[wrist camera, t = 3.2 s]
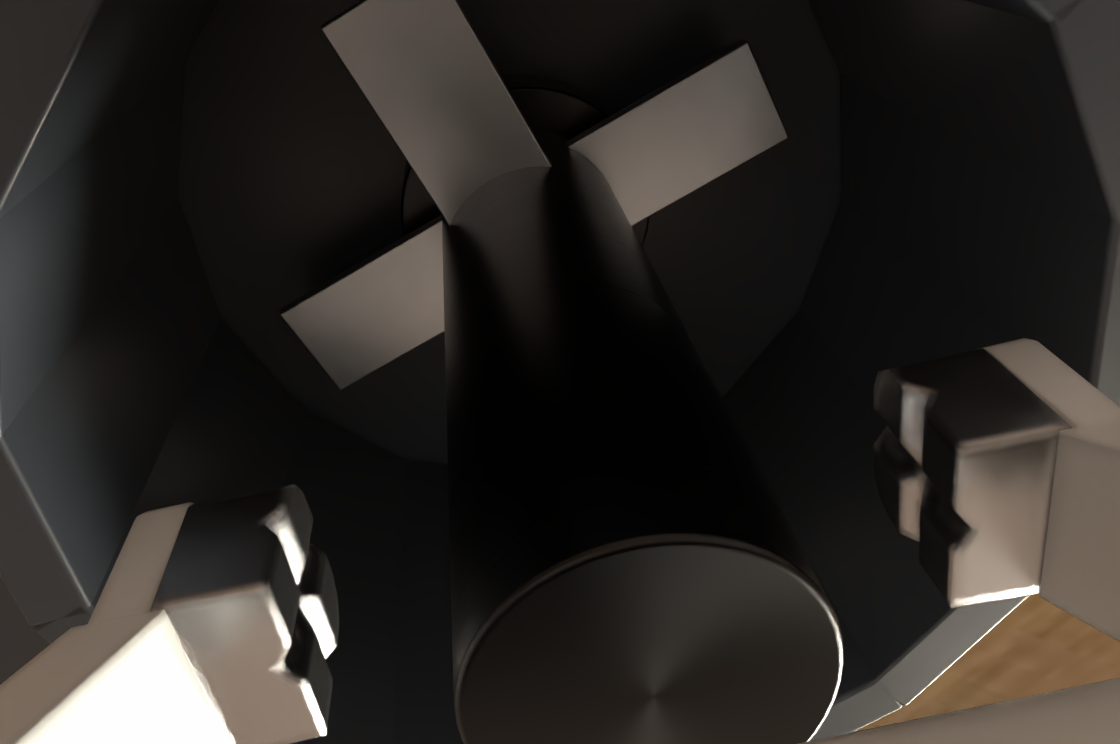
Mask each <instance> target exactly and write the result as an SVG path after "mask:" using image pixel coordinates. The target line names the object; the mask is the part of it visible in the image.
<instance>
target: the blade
mask: <svg viewBox="0 0 1120 744" xmlns="http://www.w3.org/2000/svg"><path fill="white" fill-rule="evenodd" d="M321 31H322V33H323V34H324V36H325V37H326V39H327V40H328V42H329V43H330V45H331V46H332V48H333V49H334V51H335V52H336V54H337V56H338V57H339V59H340V60H341V62H342V63H343V65H344V66H345V68H346V69H347V71H348V72H349V74H350V75H351V77H352V78H353V80H354V81H355V83H356V84H357V86H358V88H359V89H360V91H361V92H362V94H363V95H364V97H365V98H366V100H367V101H368V103H369V104H370V106H371V107H372V109H373V110H374V112H375V113H376V115H377V116H378V118H379V119H380V121H381V123H382V124H383V126H384V127H385V129H386V130H387V132H388V133H389V135H390V136H391V138H392V139H393V141H394V142H395V144H396V145H397V147H398V148H399V150H400V151H401V153H402V155H403V156H404V158H405V159H406V161H407V163H406V167H405V171H404V178H403V185H402V196H401V220H402V228H403V234H404V237H402V238H400V239H399V240H397V241H395V242H394V243H392V244H390V245H388V246H387V247H385V248H383V249H382V250H380V251H378V252H376V253H375V254H373V255H371V256H370V257H368V258H366V259H364V260H363V261H361V262H359V263H358V264H356V265H354V266H352V267H351V268H349V269H347V270H346V271H344V272H342V273H340V274H339V275H337V276H335V277H334V278H332V279H330V280H328V281H327V282H325V283H323V284H322V285H320V286H318V287H316V288H315V289H313V290H311V291H310V292H308V293H306V294H304V295H303V296H301V297H299V298H298V299H296V300H294V301H292V302H291V303H289V304H287V305H286V306H284V307H282V309H281V312H280V316H281V317H282V318H283V320H284V321H285V322H286V323H287V325H288V326H289V327H290V328H291V330H292V331H293V332H294V333H295V335H296V336H297V337H298V338H299V340H300V341H301V342H302V343H303V345H304V346H305V347H306V348H307V350H308V351H309V352H310V353H311V355H312V356H313V357H314V358H315V360H316V361H317V362H318V363H319V365H320V366H321V367H322V368H323V370H324V371H325V372H326V373H327V375H328V376H329V377H330V378H331V380H332V381H333V382H334V383H335V385H336V386H337V387H338V388H339V389H340V390H342V389H344V388H346V387H347V386H349V385H351V384H353V383H354V382H356V381H358V380H360V379H362V378H363V377H365V376H367V375H369V374H370V373H372V372H374V371H376V370H378V369H379V368H381V367H383V366H385V365H386V364H388V363H390V362H392V361H394V360H395V359H397V358H399V357H401V356H402V355H404V354H406V353H408V352H410V351H411V350H413V349H415V348H417V347H418V346H420V345H422V344H424V343H426V342H427V341H429V340H431V339H433V338H434V337H436V336H438V335H440V334H442V333H443V332H445V371H446V412H447V453H448V493H449V534H450V574H451V615H452V656H453V696H454V711H455V718H456V724H457V727H458V730H459V733H460V736H461V739H462V742H463V743H464V744H799V743H804V742H808V741H810V740H811V739H812V737H813V736H814V735H815V734H816V733H817V731H818V730H819V728H820V726H821V725H822V723H823V722H824V720H825V719H826V717H827V715H828V713H829V711H830V709H831V707H832V705H833V703H834V701H835V698H836V695H837V692H838V688H839V685H840V682H841V676H842V668H843V638H842V634H841V629H840V625H839V621H838V618H837V616H836V614H835V612H834V609H833V607H832V605H831V603H830V601H829V599H828V597H827V595H826V593H825V591H824V589H823V588H822V586H821V584H820V582H819V580H818V578H817V576H816V574H815V572H814V571H813V569H812V567H811V565H810V563H809V561H808V559H807V557H806V555H805V554H804V552H803V550H802V548H801V546H800V544H799V542H798V540H797V538H796V537H795V535H794V533H793V531H792V529H791V527H790V525H789V523H788V521H787V519H786V518H785V516H784V514H783V512H782V510H781V508H780V506H779V504H778V502H777V501H776V499H775V497H774V495H773V493H772V491H771V489H770V487H769V485H768V484H767V482H766V480H765V478H764V476H763V474H762V472H761V470H760V468H759V467H758V465H757V463H756V461H755V459H754V457H753V455H752V453H751V451H750V450H749V448H748V446H747V444H746V442H745V440H744V438H743V436H742V434H741V433H740V431H739V429H738V427H737V425H736V423H735V421H734V419H733V417H732V416H731V414H730V412H729V410H728V408H727V406H726V404H725V402H724V400H723V399H722V397H721V395H720V393H719V391H718V389H717V387H716V385H715V383H714V381H713V380H712V378H711V376H710V374H709V372H708V370H707V368H706V366H705V364H704V363H703V361H702V359H701V357H700V355H699V353H698V351H697V349H696V347H695V346H694V344H693V342H692V340H691V338H690V336H689V334H688V332H687V330H686V329H685V327H684V325H683V323H682V321H681V319H680V317H679V315H678V313H677V312H676V310H675V308H674V306H673V304H672V302H671V300H670V298H669V296H668V295H667V293H666V291H665V289H664V287H663V285H662V283H661V281H660V279H659V278H658V276H657V274H656V272H655V270H654V268H653V266H652V264H651V262H650V260H649V259H648V257H647V255H646V253H645V251H644V249H643V247H642V246H643V244H644V241H645V237H646V234H647V230H648V226H649V218H650V216H651V215H653V214H655V213H657V212H658V211H660V210H662V209H664V208H666V207H667V206H669V205H671V204H673V203H674V202H676V201H678V200H680V199H682V198H683V197H685V196H687V195H689V194H690V193H692V192H694V191H696V190H698V189H699V188H701V187H703V186H705V185H706V184H708V183H710V182H712V181H714V180H715V179H717V178H719V177H721V176H722V175H724V174H726V173H728V172H730V171H731V170H733V169H735V168H737V167H738V166H740V165H742V164H744V163H746V162H747V161H749V160H751V159H753V158H754V157H756V156H758V155H760V154H762V153H763V152H765V151H767V150H769V149H770V148H772V147H774V146H776V145H778V144H779V143H781V142H783V141H785V140H786V139H788V138H789V135H788V132H787V130H786V128H785V125H784V123H783V121H782V119H781V116H780V114H779V112H778V109H777V107H776V105H775V102H774V100H773V98H772V95H771V93H770V91H769V88H768V86H767V84H766V81H765V79H764V77H763V74H762V72H761V70H760V67H759V65H758V63H757V61H756V58H755V56H754V54H753V51H752V49H751V47H750V44H749V42H747V41H746V40H744V39H742V40H740V41H738V42H736V43H735V44H733V45H731V46H730V47H728V48H726V49H724V50H723V51H721V52H719V53H718V54H716V55H714V56H712V57H711V58H709V59H707V60H706V61H704V62H702V63H700V64H699V65H697V66H695V67H694V68H692V69H690V70H688V71H687V72H685V73H683V74H682V75H680V76H678V77H676V78H675V79H673V80H671V81H670V82H668V83H666V84H664V85H663V86H661V87H659V88H658V89H656V90H654V91H652V92H651V93H649V94H647V95H646V96H644V97H642V98H640V99H639V100H637V101H635V102H634V103H632V104H630V105H628V106H627V107H625V108H623V109H622V110H620V111H618V112H616V113H615V114H612V113H611V112H610V111H609V110H608V109H607V108H606V107H605V106H604V105H602V104H601V103H600V102H599V101H598V100H596V99H595V98H594V97H592V96H591V95H589V94H588V93H586V92H585V91H583V90H581V89H579V88H577V87H575V86H573V85H571V84H568V83H565V82H562V81H559V80H556V79H551V78H546V77H541V76H528V75H519V76H506V77H502V76H501V74H500V73H499V71H498V69H497V67H496V66H495V64H494V62H493V60H492V59H491V57H490V55H489V53H488V52H487V50H486V48H485V47H484V45H483V43H482V41H481V40H480V38H479V36H478V34H477V33H476V31H475V29H474V27H473V26H472V24H471V22H470V20H469V19H468V17H467V15H466V13H465V12H464V10H463V8H462V6H461V5H460V3H459V1H458V0H360V1H359V2H357V3H356V4H354V5H352V6H351V7H349V8H348V9H346V10H345V11H343V12H341V13H340V14H338V15H337V16H335V17H333V18H332V19H330V20H329V21H327V22H325V23H324V24H323V25H322V27H321Z"/></svg>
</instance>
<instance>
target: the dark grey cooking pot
mask: <svg viewBox="0 0 1120 744" xmlns="http://www.w3.org/2000/svg"><path fill="white" fill-rule="evenodd" d="M359 1H360V0H0V577H1V579H2V581H3V582H4V584H5V586H6V587H7V589H8V591H9V593H10V594H11V596H12V598H13V600H14V601H15V603H16V605H17V606H18V608H19V610H20V612H21V613H22V615H23V617H24V619H25V620H26V622H27V624H29V625H30V626H33V629H34V631H35V632H36V633H37V634H38V635H39V636H41V637H42V638H43V639H45V640H46V641H47V642H48V643H50V644H51V643H53V642H54V641H55V640H56V639H58V638H59V637H60V636H61V635H63V634H64V633H65V632H66V631H68V630H69V629H70V628H72V627H77V626H82V625H87V624H88V622H89V620H90V617H91V615H92V613H93V611H94V609H95V606H96V604H97V602H98V600H99V598H100V595H101V593H102V591H103V589H104V586H105V584H106V582H107V580H108V578H109V575H110V573H111V571H112V569H113V567H114V564H115V562H116V560H117V558H118V556H119V553H120V551H121V549H122V547H123V545H124V542H125V540H126V538H127V536H128V533H129V531H130V529H131V527H132V525H133V522H134V520H135V519H136V517H137V516H139V515H141V514H142V513H144V512H146V511H150V510H155V509H160V508H165V507H169V506H174V505H179V504H184V503H189V502H191V503H196V502H197V501H202V500H208V499H214V498H219V497H225V496H231V495H236V494H242V493H248V492H253V491H259V490H265V489H271V488H276V487H282V486H288V485H293V484H295V485H296V486H297V487H298V488H299V489H301V490H302V491H303V493H304V496H305V498H306V501H307V503H308V506H309V509H310V511H311V514H312V516H313V524H312V530H311V536H310V542H309V543H311V544H312V545H314V546H315V547H317V548H318V549H320V550H321V551H323V552H324V553H326V555H327V558H328V561H329V564H330V567H331V570H332V573H333V578H334V582H335V586H336V591H337V596H338V610H339V634H338V644H337V647H336V648H335V649H334V650H333V651H332V652H331V653H330V655H329V656H328V657H327V658H326V662H327V665H328V668H329V670H330V673H331V676H332V678H333V686H332V693H331V701H330V709H329V717H328V725H327V733H326V735H324V736H320V737H316V738H311V739H307V740H303V741H299V742H294V743H290V744H464V743H463V742H462V739H461V736H460V733H459V730H458V727H457V724H456V718H455V711H454V696H453V656H452V615H451V574H450V534H449V493H448V453H447V412H446V371H445V332H443V333H442V334H440V335H438V336H436V337H434V338H433V339H431V340H429V341H427V342H426V343H424V344H422V345H420V346H418V347H417V348H415V349H413V350H411V351H410V352H408V353H406V354H404V355H402V356H401V357H399V358H397V359H395V360H394V361H392V362H390V363H388V364H386V365H385V366H383V367H381V368H379V369H378V370H376V371H374V372H372V373H370V374H369V375H367V376H365V377H363V378H362V379H360V380H358V381H356V382H354V383H353V384H351V385H349V386H347V387H346V388H344V389H342V390H340V389H339V388H338V387H337V386H336V385H335V383H334V382H333V381H332V380H331V378H330V377H329V376H328V375H327V373H326V372H325V371H324V370H323V368H322V367H321V366H320V365H319V363H318V362H317V361H316V360H315V358H314V357H313V356H312V355H311V353H310V352H309V351H308V350H307V348H306V347H305V346H304V345H303V343H302V342H301V341H300V340H299V338H298V337H297V336H296V335H295V333H294V332H293V331H292V330H291V328H290V327H289V326H288V325H287V323H286V322H285V321H284V320H283V318H282V317H281V316H280V312H281V309H282V307H284V306H286V305H287V304H289V303H291V302H292V301H294V300H296V299H298V298H299V297H301V296H303V295H304V294H306V293H308V292H310V291H311V290H313V289H315V288H316V287H318V286H320V285H322V284H323V283H325V282H327V281H328V280H330V279H332V278H334V277H335V276H337V275H339V274H340V273H342V272H344V271H346V270H347V269H349V268H351V267H352V266H354V265H356V264H358V263H359V262H361V261H363V260H364V259H366V258H368V257H370V256H371V255H373V254H375V253H376V252H378V251H380V250H382V249H383V248H385V247H387V246H388V245H390V244H392V243H394V242H395V241H397V240H399V239H400V238H402V237H404V234H403V228H402V220H401V196H402V185H403V178H404V171H405V167H406V163H407V161H406V159H405V158H404V156H403V155H402V153H401V151H400V150H399V148H398V147H397V145H396V144H395V142H394V141H393V139H392V138H391V136H390V135H389V133H388V132H387V130H386V129H385V127H384V126H383V124H382V123H381V121H380V119H379V118H378V116H377V115H376V113H375V112H374V110H373V109H372V107H371V106H370V104H369V103H368V101H367V100H366V98H365V97H364V95H363V94H362V92H361V91H360V89H359V88H358V86H357V84H356V83H355V81H354V80H353V78H352V77H351V75H350V74H349V72H348V71H347V69H346V68H345V66H344V65H343V63H342V62H341V60H340V59H339V57H338V56H337V54H336V52H335V51H334V49H333V48H332V46H331V45H330V43H329V42H328V40H327V39H326V37H325V36H324V34H323V33H322V31H321V27H322V25H323V24H324V23H325V22H327V21H329V20H330V19H332V18H333V17H335V16H337V15H338V14H340V13H341V12H343V11H345V10H346V9H348V8H349V7H351V6H352V5H354V4H356V3H357V2H359ZM458 1H459V3H460V5H461V6H462V8H463V10H464V12H465V13H466V15H467V17H468V19H469V20H470V22H471V24H472V26H473V27H474V29H475V31H476V33H477V34H478V36H479V38H480V40H481V41H482V43H483V45H484V47H485V48H486V50H487V52H488V53H489V55H490V57H491V59H492V60H493V62H494V64H495V66H496V67H497V69H498V71H499V73H500V74H501V76H502V77H506V76H519V75H528V76H541V77H546V78H551V79H556V80H559V81H562V82H565V83H568V84H571V85H573V86H575V87H577V88H579V89H581V90H583V91H585V92H586V93H588V94H589V95H591V96H592V97H594V98H595V99H596V100H598V101H599V102H600V103H601V104H602V105H604V106H605V107H606V108H607V109H608V110H609V111H610V112H611V113H612V114H615V113H616V112H618V111H620V110H622V109H623V108H625V107H627V106H628V105H630V104H632V103H634V102H635V101H637V100H639V99H640V98H642V97H644V96H646V95H647V94H649V93H651V92H652V91H654V90H656V89H658V88H659V87H661V86H663V85H664V84H666V83H668V82H670V81H671V80H673V79H675V78H676V77H678V76H680V75H682V74H683V73H685V72H687V71H688V70H690V69H692V68H694V67H695V66H697V65H699V64H700V63H702V62H704V61H706V60H707V59H709V58H711V57H712V56H714V55H716V54H718V53H719V52H721V51H723V50H724V49H726V48H728V47H730V46H731V45H733V44H735V43H736V42H738V41H740V40H742V39H744V40H746V41H747V42H749V44H750V47H751V49H752V51H753V54H754V56H755V58H756V61H757V63H758V65H759V67H760V70H761V72H762V74H763V77H764V79H765V81H766V84H767V86H768V88H769V91H770V93H771V95H772V98H773V100H774V102H775V105H776V107H777V109H778V112H779V114H780V116H781V119H782V121H783V123H784V125H785V128H786V130H787V132H788V135H789V138H788V139H786V140H785V141H783V142H781V143H779V144H778V145H776V146H774V147H772V148H770V149H769V150H767V151H765V152H763V153H762V154H760V155H758V156H756V157H754V158H753V159H751V160H749V161H747V162H746V163H744V164H742V165H740V166H738V167H737V168H735V169H733V170H731V171H730V172H728V173H726V174H724V175H722V176H721V177H719V178H717V179H715V180H714V181H712V182H710V183H708V184H706V185H705V186H703V187H701V188H699V189H698V190H696V191H694V192H692V193H690V194H689V195H687V196H685V197H683V198H682V199H680V200H678V201H676V202H674V203H673V204H671V205H669V206H667V207H666V208H664V209H662V210H660V211H658V212H657V213H655V214H653V215H651V216H650V218H649V226H648V230H647V234H646V237H645V241H644V244H643V246H642V247H643V249H644V251H645V253H646V255H647V257H648V259H649V260H650V262H651V264H652V266H653V268H654V270H655V272H656V274H657V276H658V278H659V279H660V281H661V283H662V285H663V287H664V289H665V291H666V293H667V295H668V296H669V298H670V300H671V302H672V304H673V306H674V308H675V310H676V312H677V313H678V315H679V317H680V319H681V321H682V323H683V325H684V327H685V329H686V330H687V332H688V334H689V336H690V338H691V340H692V342H693V344H694V346H695V347H696V349H697V351H698V353H699V355H700V357H701V359H702V361H703V363H704V364H705V366H706V368H707V370H708V372H709V374H710V376H711V378H712V380H713V381H714V383H715V385H716V387H717V389H718V391H719V393H720V395H721V397H722V399H723V400H724V402H725V404H726V406H727V408H728V410H729V412H730V414H731V416H732V417H733V419H734V421H735V423H736V425H737V427H738V429H739V431H740V433H741V434H742V436H743V438H744V440H745V442H746V444H747V446H748V448H749V450H750V451H751V453H752V455H753V457H754V459H755V461H756V463H757V465H758V467H759V468H760V470H761V472H762V474H763V476H764V478H765V480H766V482H767V484H768V485H769V487H770V489H771V491H772V493H773V495H774V497H775V499H776V501H777V502H778V504H779V506H780V508H781V510H782V512H783V514H784V516H785V518H786V519H787V521H788V523H789V525H790V527H791V529H792V531H793V533H794V535H795V537H796V538H797V540H798V542H799V544H800V546H801V548H802V550H803V552H804V554H805V555H806V557H807V559H808V561H809V563H810V565H811V567H812V569H813V571H814V572H815V574H816V576H817V578H818V580H819V582H820V584H821V586H822V588H823V589H824V591H825V593H826V595H827V597H828V599H829V601H830V603H831V605H832V607H833V609H834V612H835V614H836V616H837V618H838V621H839V625H840V629H841V634H842V638H843V668H842V676H841V682H840V685H839V688H838V692H837V695H836V698H835V701H834V703H833V705H832V707H831V709H830V711H829V713H828V715H827V717H826V719H825V720H824V722H823V723H822V725H821V726H820V728H819V730H818V731H817V733H816V734H815V735H814V736H813V737H812V739H811V740H810V741H813V740H818V739H823V738H828V737H832V736H837V735H842V734H847V733H852V732H854V731H856V730H858V729H860V728H862V727H864V726H866V725H868V724H870V723H872V722H874V721H876V720H878V719H880V718H882V717H884V716H886V715H889V714H891V713H893V712H895V711H897V710H899V709H900V708H901V707H902V705H903V706H906V705H908V704H909V703H910V702H911V701H912V700H913V699H914V698H915V697H917V696H918V695H919V694H920V693H921V692H922V691H923V690H924V689H925V688H927V687H928V686H929V685H930V684H931V683H932V682H933V681H934V680H936V679H937V678H938V677H939V676H940V675H941V674H942V673H943V672H944V671H946V670H947V669H948V668H949V667H950V666H951V665H952V664H953V663H954V662H956V661H957V660H958V659H959V658H960V657H961V656H962V655H963V654H964V653H966V652H967V651H968V650H969V649H970V648H971V647H972V646H973V645H975V644H976V643H977V642H978V641H979V640H980V639H981V638H982V637H983V636H985V635H986V634H987V633H988V632H989V631H990V630H991V629H992V628H993V627H995V626H996V625H997V624H998V623H999V622H1000V621H1001V620H1002V619H1004V618H1005V617H1006V616H1007V615H1008V614H1009V613H1010V612H1011V611H1012V610H1014V609H1015V608H1016V607H1017V606H1018V605H1019V604H1020V603H1021V602H1022V601H1024V600H1025V599H1026V598H1027V597H1028V596H1029V595H1030V594H1029V595H1023V596H1017V597H1012V598H1006V599H1000V600H994V601H989V602H983V603H977V604H972V605H966V606H960V607H955V608H950V606H949V605H948V603H947V602H946V600H945V599H944V597H943V596H942V595H941V593H940V592H939V590H938V589H937V587H936V586H935V585H934V583H933V582H932V580H931V579H930V577H929V576H928V575H927V573H926V572H925V570H924V569H923V567H922V566H921V564H920V563H919V542H918V541H916V540H914V539H911V538H909V537H907V536H905V535H903V534H900V533H899V532H898V531H897V529H896V528H895V526H894V525H893V523H892V522H891V520H890V518H889V517H888V515H887V513H886V510H885V508H884V506H883V504H882V501H881V499H880V496H879V491H878V487H877V483H876V478H875V474H874V450H873V445H874V443H875V442H876V440H877V439H878V438H879V436H880V435H881V433H882V432H883V430H884V429H885V428H886V426H887V425H886V423H885V422H884V421H883V420H882V418H881V417H880V416H879V414H878V413H877V412H876V410H875V409H874V384H875V381H876V377H877V373H878V371H883V370H887V369H892V368H896V367H901V366H905V365H910V364H914V363H919V362H923V361H928V360H932V359H937V358H941V357H946V356H950V355H955V354H959V353H964V352H968V351H973V350H976V349H980V348H984V347H988V346H993V345H997V344H1001V343H1005V342H1010V341H1014V340H1018V339H1022V338H1026V339H1031V340H1035V341H1038V342H1039V343H1040V344H1042V345H1043V346H1044V347H1045V348H1047V349H1048V350H1049V351H1050V352H1052V353H1053V354H1054V355H1055V356H1057V357H1058V358H1059V359H1060V360H1062V361H1063V362H1064V363H1065V364H1067V365H1068V366H1069V367H1070V368H1072V369H1073V370H1074V371H1075V372H1077V373H1078V374H1079V375H1080V376H1081V377H1083V378H1084V379H1085V380H1086V381H1088V382H1089V383H1090V384H1091V385H1093V386H1094V387H1095V388H1096V389H1098V390H1099V391H1100V392H1101V393H1103V394H1104V395H1105V396H1106V397H1108V398H1109V399H1110V400H1111V401H1113V402H1114V403H1115V404H1116V405H1118V406H1119V407H1120V0H458Z"/></svg>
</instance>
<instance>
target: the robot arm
mask: <svg viewBox="0 0 1120 744" xmlns="http://www.w3.org/2000/svg"><path fill="white" fill-rule="evenodd" d="M874 409H875V410H876V412H877V413H878V414H879V416H880V417H881V418H882V420H883V421H884V422H885V423H886V425H887V426H886V428H885V429H884V430H883V432H882V433H881V435H880V436H879V438H878V439H877V440H876V442H875V443H874V445H873V450H874V474H875V478H876V483H877V487H878V491H879V496H880V499H881V501H882V504H883V506H884V508H885V510H886V513H887V515H888V517H889V518H890V520H891V522H892V523H893V525H894V526H895V528H896V529H897V531H898V532H899V533H900V534H903V535H905V536H907V537H909V538H911V539H914V540H916V541H918V542H919V563H920V564H921V566H922V567H923V569H924V570H925V572H926V573H927V575H928V576H929V577H930V579H931V580H932V582H933V583H934V585H935V586H936V587H937V589H938V590H939V592H940V593H941V595H942V596H943V597H944V599H945V600H946V602H947V603H948V605H949V606H950V608H955V607H960V606H966V605H972V604H977V603H983V602H989V601H994V600H1000V599H1006V598H1012V597H1017V596H1023V595H1029V594H1034V593H1040V597H1041V598H1043V599H1045V600H1046V601H1048V602H1050V603H1052V604H1053V605H1055V606H1057V607H1059V608H1061V609H1062V610H1064V611H1066V612H1068V613H1069V614H1071V615H1073V616H1075V617H1076V618H1078V619H1080V620H1082V621H1083V622H1085V623H1087V624H1089V625H1091V626H1092V627H1094V628H1096V629H1098V630H1099V631H1101V632H1103V633H1105V634H1106V635H1108V636H1110V637H1112V638H1113V639H1115V640H1117V641H1119V642H1120V407H1119V406H1118V405H1116V404H1115V403H1114V402H1113V401H1111V400H1110V399H1109V398H1108V397H1106V396H1105V395H1104V394H1103V393H1101V392H1100V391H1099V390H1098V389H1096V388H1095V387H1094V386H1093V385H1091V384H1090V383H1089V382H1088V381H1086V380H1085V379H1084V378H1083V377H1081V376H1080V375H1079V374H1078V373H1077V372H1075V371H1074V370H1073V369H1072V368H1070V367H1069V366H1068V365H1067V364H1065V363H1064V362H1063V361H1062V360H1060V359H1059V358H1058V357H1057V356H1055V355H1054V354H1053V353H1052V352H1050V351H1049V350H1048V349H1047V348H1045V347H1044V346H1043V345H1042V344H1040V343H1039V342H1038V341H1035V340H1031V339H1026V338H1022V339H1018V340H1014V341H1010V342H1005V343H1001V344H997V345H993V346H988V347H984V348H980V349H976V350H973V351H968V352H964V353H959V354H955V355H950V356H946V357H941V358H937V359H932V360H928V361H923V362H919V363H914V364H910V365H905V366H901V367H896V368H892V369H887V370H883V371H878V373H877V377H876V381H875V384H874ZM312 524H313V516H312V514H311V511H310V509H309V506H308V503H307V501H306V498H305V496H304V493H303V491H302V490H301V489H299V488H298V487H297V486H296V485H295V484H293V485H288V486H282V487H276V488H271V489H265V490H259V491H253V492H248V493H242V494H236V495H231V496H225V497H219V498H214V499H208V500H202V501H197V502H196V503H191V502H189V503H184V504H179V505H174V506H169V507H165V508H160V509H155V510H150V511H146V512H144V513H142V514H141V515H139V516H137V517H136V519H135V520H134V522H133V525H132V527H131V529H130V531H129V533H128V536H127V538H126V540H125V542H124V545H123V547H122V549H121V551H120V553H119V556H118V558H117V560H116V562H115V564H114V567H113V569H112V571H111V573H110V575H109V578H108V580H107V582H106V584H105V586H104V589H103V591H102V593H101V595H100V598H99V600H98V602H97V604H96V606H95V609H94V611H93V613H92V615H91V617H90V620H89V622H88V624H87V625H82V626H77V627H72V628H70V629H69V630H68V631H66V632H65V633H64V634H63V635H61V636H60V637H59V638H58V639H56V640H55V641H54V642H53V643H51V644H50V645H49V646H48V647H46V648H45V649H44V650H43V651H42V652H40V653H39V654H38V655H37V656H35V657H34V658H33V659H32V660H30V661H29V662H28V663H27V664H25V665H24V666H23V667H22V668H20V669H19V670H18V671H17V672H15V673H14V674H13V675H12V676H10V677H9V678H8V679H7V680H6V681H4V682H3V683H2V684H1V685H0V744H290V743H294V742H299V741H303V740H307V739H311V738H316V737H320V736H324V735H326V733H327V725H328V717H329V709H330V701H331V693H332V686H333V678H332V676H331V673H330V670H329V668H328V665H327V662H326V658H327V657H328V656H329V655H330V653H331V652H332V651H333V650H334V649H335V648H336V647H337V644H338V634H339V610H338V596H337V591H336V586H335V582H334V578H333V573H332V570H331V567H330V564H329V561H328V558H327V555H326V553H324V552H323V551H321V550H320V549H318V548H317V547H315V546H314V545H312V544H311V543H309V542H310V536H311V530H312ZM799 744H1120V678H1115V679H1110V680H1106V681H1101V682H1096V683H1091V684H1086V685H1081V686H1076V687H1071V688H1067V689H1062V690H1057V691H1052V692H1047V693H1042V694H1037V695H1032V696H1027V697H1023V698H1018V699H1013V700H1008V701H1003V702H998V703H993V704H988V705H984V706H979V707H974V708H969V709H964V710H959V711H954V712H949V713H945V714H940V715H935V716H930V717H925V718H920V719H915V720H910V721H906V722H901V723H896V724H891V725H886V726H881V727H876V728H871V729H866V730H862V731H857V732H852V733H847V734H842V735H837V736H832V737H828V738H823V739H818V740H813V741H808V742H804V743H799Z"/></svg>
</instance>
